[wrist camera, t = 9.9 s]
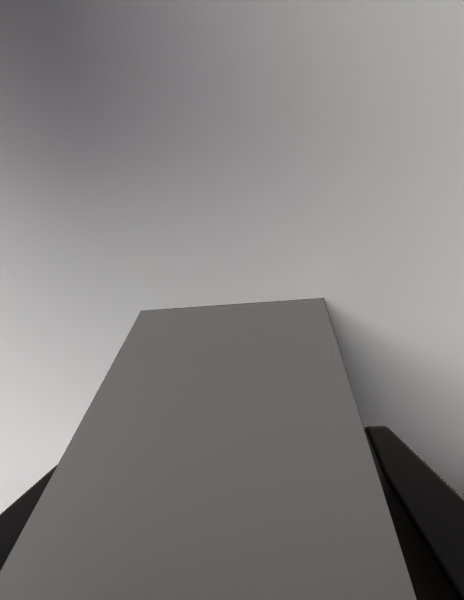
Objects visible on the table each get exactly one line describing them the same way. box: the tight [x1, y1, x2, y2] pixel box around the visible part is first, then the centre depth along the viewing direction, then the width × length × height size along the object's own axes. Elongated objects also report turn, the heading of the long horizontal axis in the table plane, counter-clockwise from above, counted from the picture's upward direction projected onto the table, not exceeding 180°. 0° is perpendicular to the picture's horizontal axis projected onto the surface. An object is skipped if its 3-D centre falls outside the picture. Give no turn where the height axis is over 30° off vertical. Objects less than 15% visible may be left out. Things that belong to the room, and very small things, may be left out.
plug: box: [0, 298, 417, 600], centre depth 7 cm, size 4×4×9 cm
